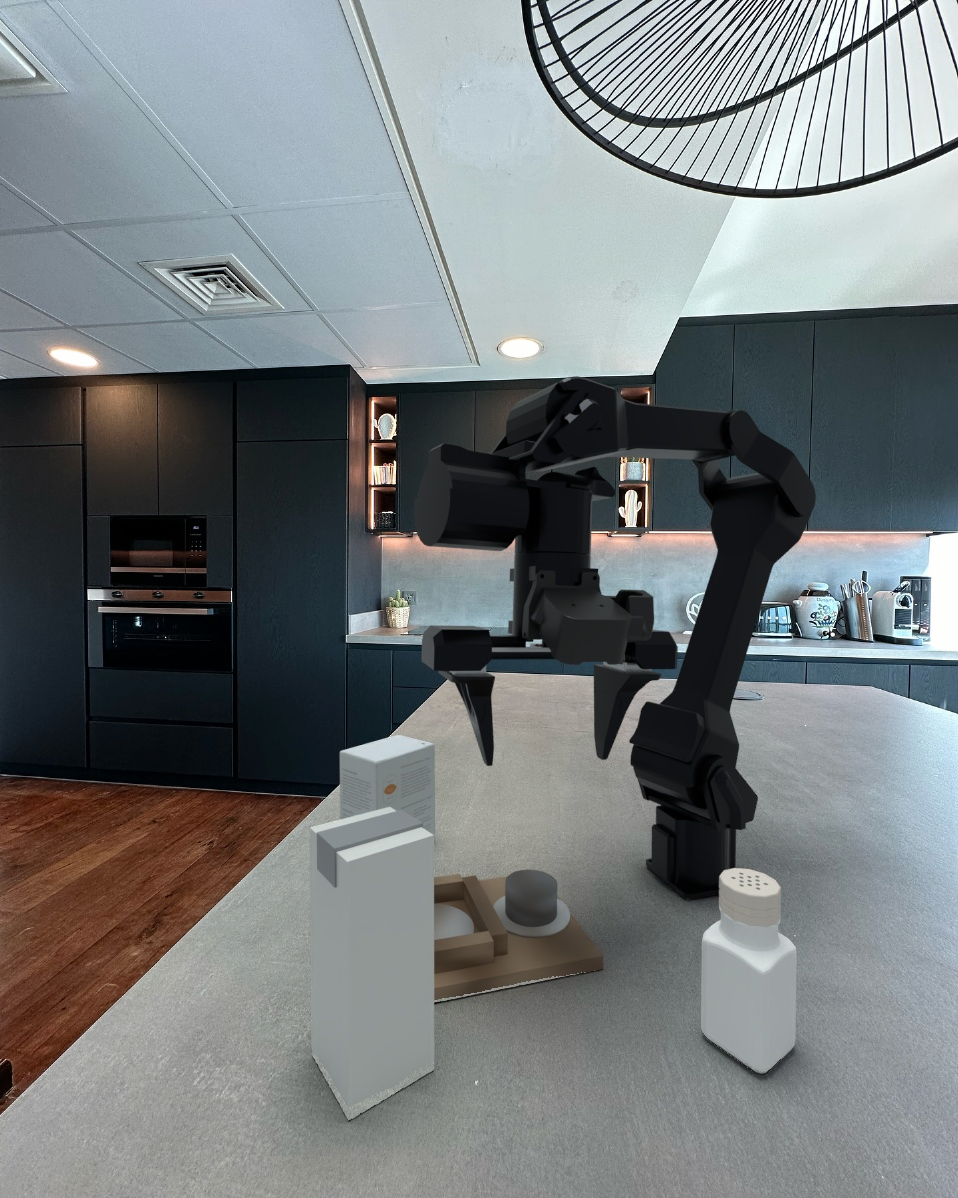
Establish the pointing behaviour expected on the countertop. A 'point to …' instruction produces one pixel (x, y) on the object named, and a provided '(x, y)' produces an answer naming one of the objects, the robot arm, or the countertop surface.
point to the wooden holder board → (504, 933)
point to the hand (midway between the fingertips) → (546, 761)
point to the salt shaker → (749, 972)
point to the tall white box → (372, 950)
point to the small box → (389, 778)
